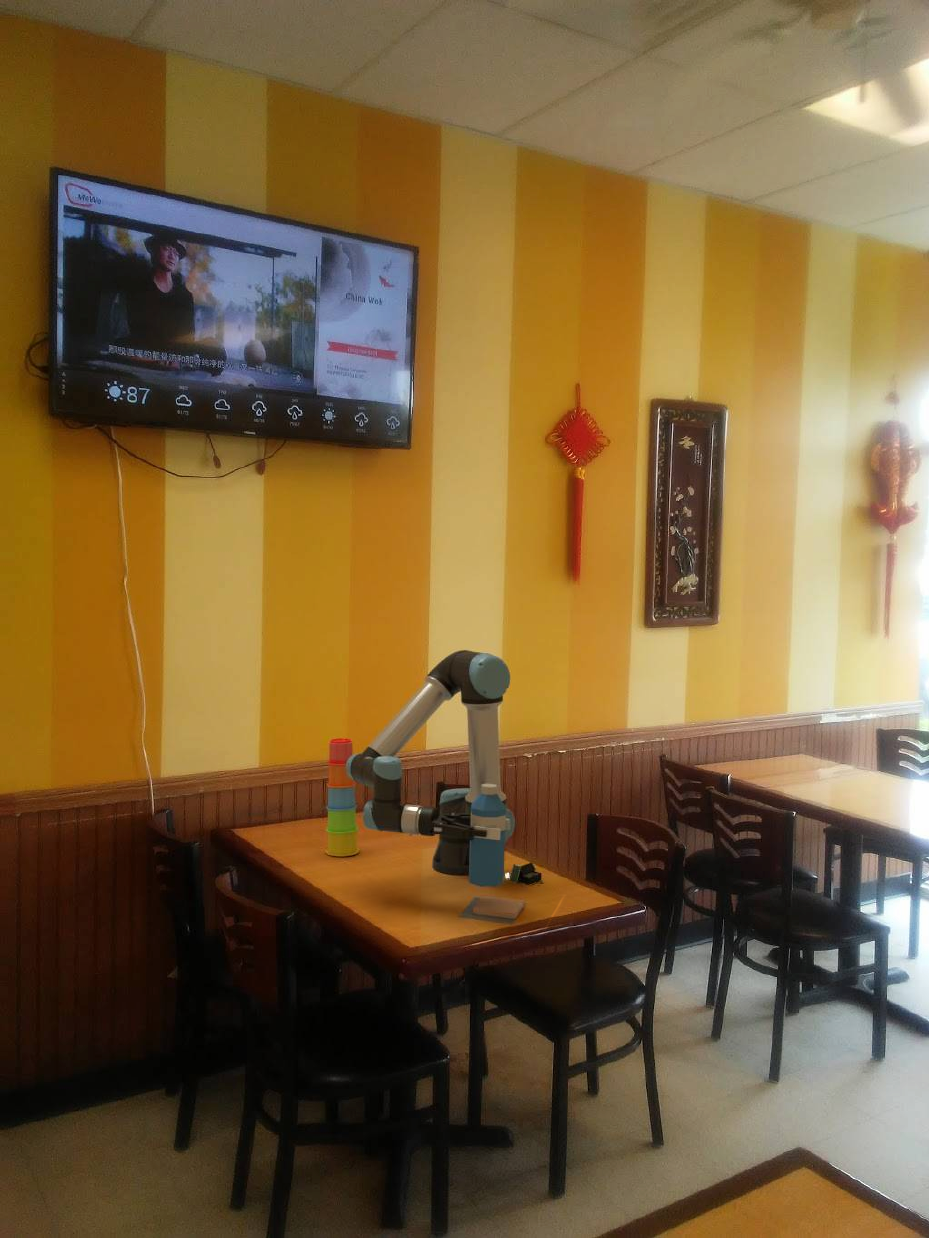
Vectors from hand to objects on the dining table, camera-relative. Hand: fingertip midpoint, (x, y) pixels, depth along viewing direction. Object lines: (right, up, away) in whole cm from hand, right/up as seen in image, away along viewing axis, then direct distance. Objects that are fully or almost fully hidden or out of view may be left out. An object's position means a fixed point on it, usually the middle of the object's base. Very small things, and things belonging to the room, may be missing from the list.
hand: (504, 829), depth 262 cm
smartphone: (+8, -21, +29) cm, 37 cm away
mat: (-3, -22, +2) cm, 22 cm away
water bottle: (-5, -14, +2) cm, 15 cm away
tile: (-7, -20, +3) cm, 21 cm away
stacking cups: (-47, -17, +50) cm, 71 cm away
